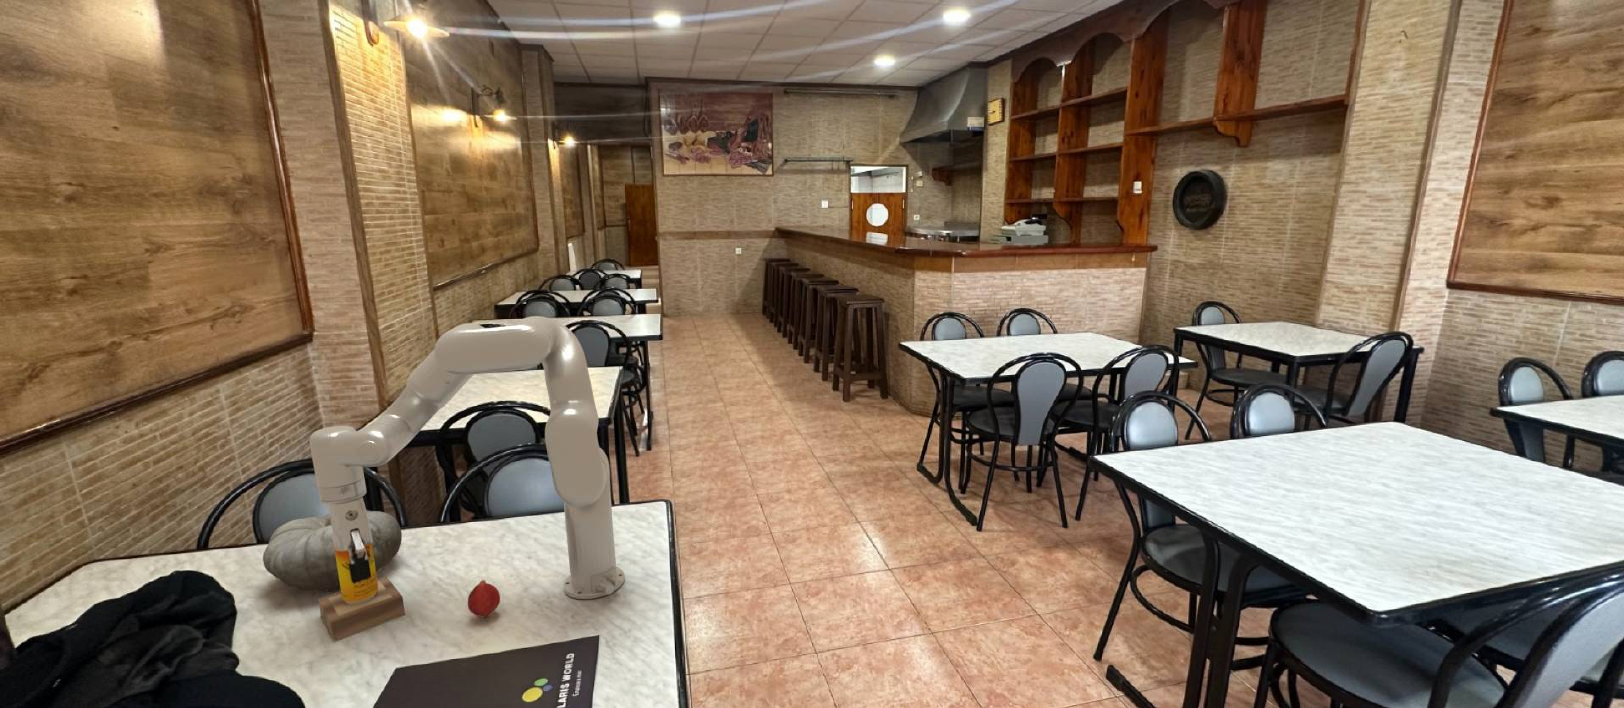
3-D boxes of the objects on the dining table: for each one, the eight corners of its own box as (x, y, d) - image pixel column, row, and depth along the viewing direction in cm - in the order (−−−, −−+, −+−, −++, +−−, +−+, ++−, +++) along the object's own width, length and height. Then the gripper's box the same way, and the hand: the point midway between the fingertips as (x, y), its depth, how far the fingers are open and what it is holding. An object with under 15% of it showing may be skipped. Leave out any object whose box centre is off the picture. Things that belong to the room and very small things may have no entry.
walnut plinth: (405, 614, 135) (402, 596, 134) (334, 641, 127) (331, 622, 126) (388, 592, 143) (385, 575, 142) (321, 616, 135) (317, 598, 134)
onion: (470, 628, 130) (465, 591, 128) (469, 613, 135) (465, 577, 133) (502, 619, 133) (498, 583, 131) (501, 605, 138) (496, 570, 136)
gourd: (333, 605, 134) (316, 522, 133) (239, 612, 140) (222, 532, 139) (430, 557, 158) (416, 486, 157) (346, 564, 164) (332, 496, 163)
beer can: (361, 607, 131) (350, 536, 128) (335, 604, 132) (323, 533, 129) (386, 590, 136) (376, 522, 134) (361, 587, 138) (350, 520, 135)
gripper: (376, 495, 126) (390, 581, 130) (354, 473, 138) (367, 552, 142) (329, 508, 121) (344, 597, 124) (310, 483, 133) (324, 565, 136)
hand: (356, 572), depth 133 cm, fingers open, 6 cm apart
